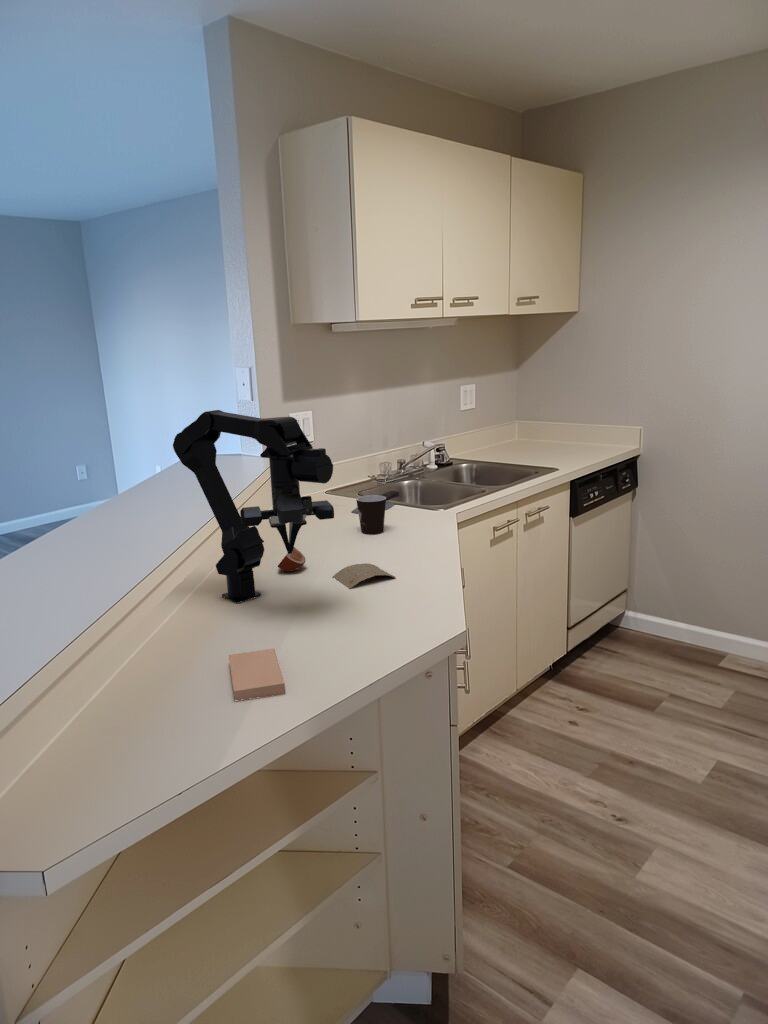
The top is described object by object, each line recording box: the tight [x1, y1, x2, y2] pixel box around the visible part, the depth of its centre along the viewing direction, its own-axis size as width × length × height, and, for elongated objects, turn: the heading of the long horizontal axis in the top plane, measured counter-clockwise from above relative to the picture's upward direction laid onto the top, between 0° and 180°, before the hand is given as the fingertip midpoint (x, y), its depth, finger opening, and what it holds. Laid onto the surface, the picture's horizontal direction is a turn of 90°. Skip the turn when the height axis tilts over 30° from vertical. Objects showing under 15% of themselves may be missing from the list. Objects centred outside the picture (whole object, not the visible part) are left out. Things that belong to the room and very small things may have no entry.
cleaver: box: [351, 490, 400, 515], centre depth 244 cm, size 29×10×2 cm, turn 156°
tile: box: [228, 648, 286, 701], centre depth 122 cm, size 2×8×14 cm
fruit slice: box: [277, 546, 306, 572], centre depth 178 cm, size 8×7×5 cm
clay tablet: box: [332, 562, 396, 590], centre depth 171 cm, size 14×10×3 cm
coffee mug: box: [355, 494, 387, 536], centre depth 211 cm, size 12×9×10 cm
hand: (289, 553), depth 151 cm, fingers closed
